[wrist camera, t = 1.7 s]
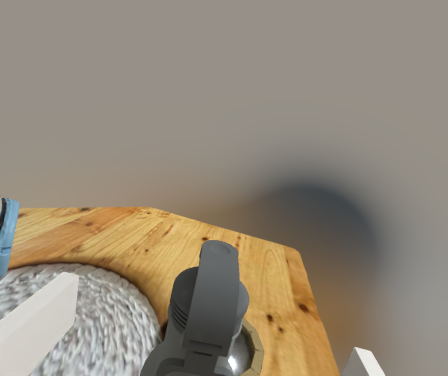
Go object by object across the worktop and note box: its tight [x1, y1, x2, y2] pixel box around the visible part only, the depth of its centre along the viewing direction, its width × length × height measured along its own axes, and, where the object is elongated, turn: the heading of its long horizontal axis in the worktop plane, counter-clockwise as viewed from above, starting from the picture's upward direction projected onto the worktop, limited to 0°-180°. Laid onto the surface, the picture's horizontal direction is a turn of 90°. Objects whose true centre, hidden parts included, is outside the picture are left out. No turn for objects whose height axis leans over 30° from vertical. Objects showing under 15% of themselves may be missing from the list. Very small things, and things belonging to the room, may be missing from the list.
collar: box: [229, 317, 264, 376], centre depth 45 cm, size 22×18×2 cm
